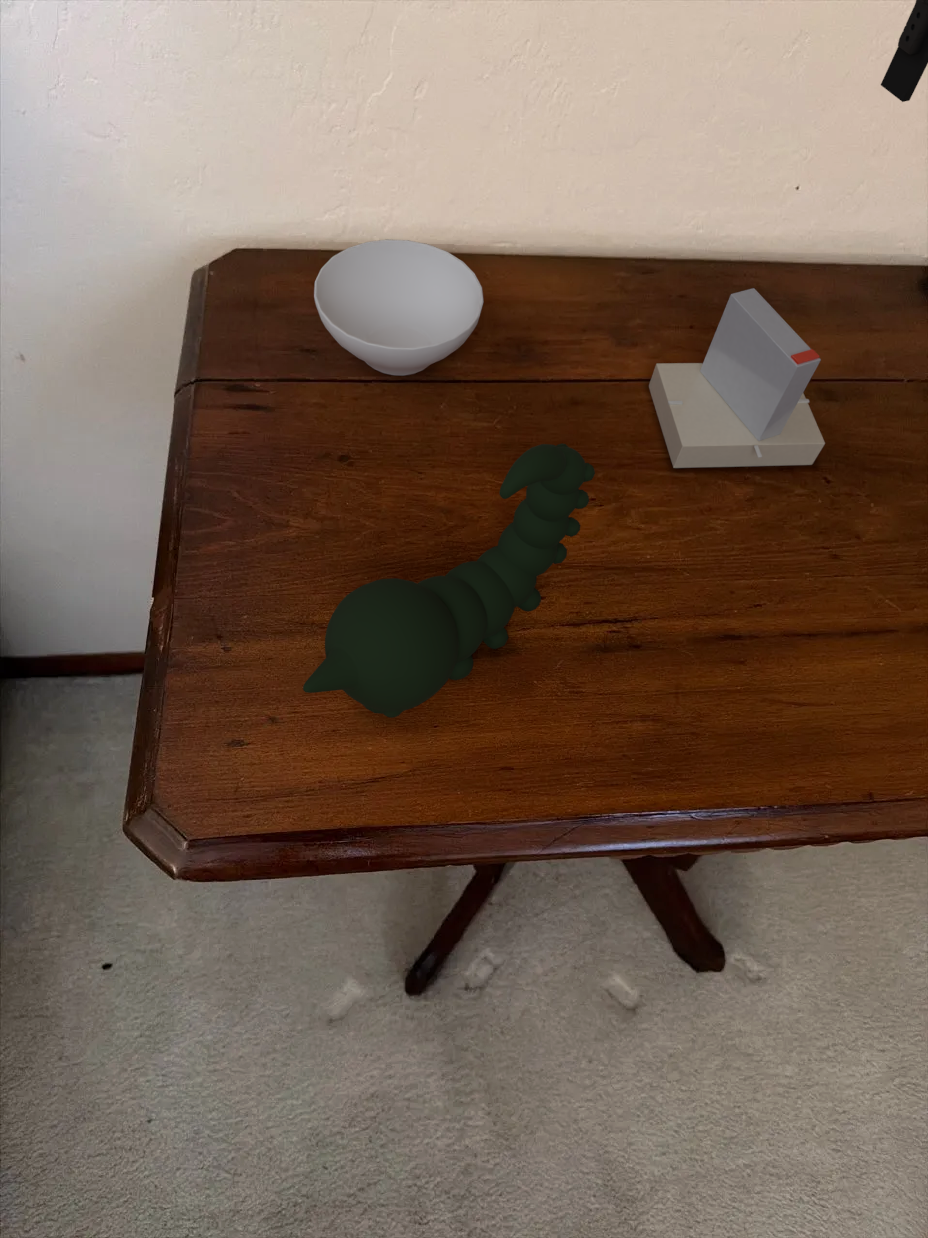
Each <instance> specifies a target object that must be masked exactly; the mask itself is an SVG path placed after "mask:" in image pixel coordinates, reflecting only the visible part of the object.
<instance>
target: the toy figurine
mask: <svg viewBox="0 0 928 1238" xmlns="http://www.w3.org/2000/svg"><path fill="white" fill-rule="evenodd" d="M595 474H596V470H595V468H594V466H593V465H592V464H591V463H589V462H586V461H585V459H584V457H583V456H582V455H581V453H580V452H578V451H577V450H576V449H575V448H572V447H569V445H567V444H566V443H563V442H562V443H558V444H557V445H555V444H553V443H552V444H551V443H550V444H549V443H541V444H538V445H535V446H532V447H530V448H529V449H527V450H526V451H524V452H523V453H522V454H521V455H520V456H519V457H518V458H517V459H516V460H515V461H514V462H513V464H512V465H511V466H510V468H509V470H508V471H507V473H506V476H505V477H504V479H503V481H502V483H501V485H500V488H499V491H498V493H499V496H500V498H501V499H503V500H506V499H509V498H511V497H512V496H513V495H516V493H517V492H519V491H521V490H522V489H524V488H526V490H525V498H524V499H523V500H521V501H520V503H519V504H518V505H517V507H516V508H515V510H514V515H513V519H512V522H511V523H509V524H508V525H507V526H506V527H505V528H504V530H502V532H501V534H500V536H499V538H498V542H497V545H495V546H493V547H490V548H489V549H487V550H485V551H484V552H483V553H481V555H480V556H479V557H478V558H477V560H469V561H466V562H462V563H459V564H458V565H457V566H455V567H453V568H451V569H449V571H448V572H447V573H446V574H445V575H434V576H431V577H428V578H425V579H422V580H420V581H419V582H415V581H412V580H408V579H404V578H403V579H402V578H395V577H394V578H393V577H391V578H381V579H376V580H373V581H370V582H368V583H365V584H363V585H360V586H359V587H357V588H355V589H354V590H352V591H350V592H349V593H347V594H346V595H345V597H344V598H342V600H341V601H339V603H338V604H337V606H336V608H335V610H334V611H333V612H332V614H331V616H330V618H329V621H328V624H327V627H326V631H325V636H324V652H325V658H324V660H323V661H322V662H321V663H320V664H319V665H318V666H317V667H316V669H315V670H314V671H313V672H312V673H311V674H310V676H309V677H308V678H307V679H306V681H305V682H304V684H303V686H302V690H303V692H304V693H307V694H316V693H325V692H333V691H343V693H345V694H346V695H347V696H348V697H349V698H351V699H353V700H354V701H355V702H358V703H359V704H361V705H362V706H363V707H364V708H365V709H366V710H368V711H370V712H372V713H373V714H379V715H380V714H382V715H383V716H385V717H386V718H391V719H392V718H397V717H399V716H400V715H401V714H402V713H403V712H405V711H408V710H412V709H414V708H416V707H418V706H419V705H421V704H423V703H425V702H426V701H428V700H429V699H430V698H432V697H434V696H435V695H436V694H437V693H438V692H439V691H440V690H441V689H442V688H443V687H444V686H445V684H446V683H447V682H448V680H453V681H459V680H463V679H465V678H466V677H468V676H469V675H470V674H471V672H472V670H473V668H474V658H473V654H474V653H476V651H477V650H478V649H479V647H480V645H481V644H482V643H484V644H485V645H486V646H487V647H488V648H490V649H493V650H497V649H500V648H502V647H504V646H505V645H506V644H507V642H508V640H509V635H508V630H507V629H506V628H505V627H506V626H507V625H508V624H509V623H510V622H509V621H510V620H511V618H512V616H513V614H514V612H515V608H518V609H520V610H522V611H523V612H532V611H533V612H534V610H536V609H537V608H538V607H539V606H540V604H541V603H542V602H541V601H542V595H541V592H540V591H539V590H538V589H537V588H536V585H537V579H538V576H541V575H543V574H545V573H546V571H548V570H549V569H550V567H551V566H552V565H553V564H554V565H557V564H562V563H563V562H564V560H566V558H567V556H568V548H567V547H566V546H565V545H564V544H563V543H561V541H562V540H563V539H564V538H565V537H566V536H567V537H569V538H572V537H575V536H577V535H578V534H579V532H580V531H581V524H580V522H579V521H578V520H577V519H576V518H574V517H573V516H570V515H571V514H572V513H573V512H574V510H576V509H577V510H582V509H584V508H586V507H587V506H588V504H589V502H590V496H589V494H588V492H587V491H585V490H584V489H580V488H581V486H582V485H583V484H584V483H586V482H589V481H592V480H593V479H594V477H595V476H596V475H595Z"/></svg>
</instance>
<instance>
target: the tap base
mask: <svg viewBox="0 0 928 1238" xmlns="http://www.w3.org/2000/svg"><path fill="white" fill-rule="evenodd" d="M702 364H703V362H677V363H675V362H674V363H673V362H671V363H670V362H668V363H666V362H665V363H664V362H662V363H659V362H658V363H656V364H655V365H654V369H653V372H652V375H651V377H650V381H649V384H648V389H649V392H650V395H651V399H652V402H653V406H654V409H655V411H656V416H657V419H658V421H659V425H660V428H661V432H662V436H663V439H664V443H665V445H666V448H667V451H668V455H669V458H670V462H671V464H672V468H673V469H691V468H692V469H693V468H735V467H736V468H737V467H739V468H740V467H774V466H775V467H780V466H783V467H784V466H812V465H813V464H814V463H815V461H816V460H817V458H818V456H819V454H820V453H821V451H822V450H823V448H824V447H825V444H826V442H825V440H824V437H823V435H822V432H821V431H820V428H819V426H818V424H817V421H816V419H815V416H814V413H813V412H812V409H811V407H810V405H809V403H810V398H806V396H805V394H804V393H805V392H803V394H802V395H801V397H800V399H799V401H798V403H797V405H796V406H795V408H794V410H793V412H792V414H791V416H790V417H789V419H788V421H787V423H786V425H785V426H784V428H783V430H782V432H781V434H779V435H776V436H773V437H770V438H767V439H764V440H761V441H758V440H757V439H756V438H755V437H754V435H753V434H752V433H751V432H750V431H749V429H748V428H747V427H746V426H745V425H744V423H743V422H742V421H741V420H740V419H739V417H738V416H737V415H736V414H735V413H734V411H733V410H732V409H731V408H730V407H729V405H728V404H727V403H726V402H725V401H724V399H723V398H722V397H721V396H720V395H719V393H718V392H717V391H716V390H715V389H714V387H713V386H712V385H711V384H710V383H709V381H708V380H707V379H706V378H705V377H704V375H703V374H702V373H701V372H700V369H701V367H702Z"/></svg>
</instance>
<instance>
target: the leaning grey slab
mask: <svg viewBox="0 0 928 1238" xmlns="http://www.w3.org/2000/svg"><path fill="white" fill-rule="evenodd" d="M821 361H822V359H821V358H820V355H819V354H818V353H817V352H816V351H815V349H813V348H811V347H810V346H809V345H808V344H807V343H806V341H804V339H802V337H800V335H798V333H797V332H796V331H795V330H794V329H793V328H792V327H791V326H790V325H789V324H788V323H787V322H786V321H785V319H783V317H782V316H781V315H780V314H779V313H778V312H777V311H776V310H775V308H773V306H771V305H770V303H769V302H768V301H767V300H766V299H765V298H764V297H763V296H762V295H761V294H760V293H759V292H758V290H757V289H755V288H754V287H752V288H748V289H745V290H741V291H738V292H737V291H736V292H733V293H731V294H730V295H729V298H728V300H727V302H726V305H725V308H724V310H723V312H722V315H721V318H720V320H719V322H718V325H717V328H716V330H715V332H714V334H713V337H712V340H711V342H710V344H709V347H708V350H707V352H706V355H705V357H704V360H703V362H702V363H703V364H702V367H701V369H700V372H701V373H702V374H703V375H704V377H705V378H706V379H707V380H708V381H709V383H710V384H711V385H712V386H713V387H714V389H715V390H716V391H717V392H718V393H719V395H720V396H721V397H722V398H723V399H724V401H725V402H726V403H727V404H728V405H729V407H730V408H731V409H732V410H733V411H734V413H735V414H736V415H737V416H738V417H739V419H740V420H741V421H742V422H743V423H744V425H745V426H746V427H747V428H748V429H749V431H750V432H751V433H752V434H753V435H754V437H755V438H756V439H757V440H758V441H761V440H764V439H767V438H770V437H773V436H776V435H779V434H781V432H782V430H783V428H784V426H785V425H786V423H787V421H788V419H789V417H790V416H791V414H792V412H793V410H794V408H795V406H796V405H797V403H798V401H799V399H800V397H801V395H802V394H803V393H805V390H806V388H807V386H808V384H809V382H810V381H811V380H812V378H813V376H814V374H815V371H816V370H817V368H818V367H819V364H820V363H821Z"/></svg>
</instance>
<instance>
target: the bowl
mask: <svg viewBox="0 0 928 1238" xmlns="http://www.w3.org/2000/svg"><path fill="white" fill-rule="evenodd" d="M313 298H314V303H315V304H314V305H315V307H316V309H317V312H318V315H319V318H320V321H321V322H322V324H323V326H324V328H325V329H326V330H327V332H328V333H329V334H330V335H331V337H333V339H334V340H335V341H336V342H337V344H339V346H341V347H342V348H343V349H344V350H346V351H348V352H349V353H350V354H352V355H353V356H354V357H356V358H358V359H359V360H361V361H363V362H364V363H365V364H366V365H367V366H369V367H371V368H372V369H373V370H374V371H375V370H376V371H377V372H380V373H381V374H385V375H390V376H410V375H415V374H416V373H417V374H418V373H419V372H422V371H424V370H425V369H426V368H429V366H430V365H433V364H434V363H437V362H440V361H442V360H444V359H446V358H447V357H448V356H450V355H451V354H452V353H454V352H455V351H457V350H459V348H460V347H461V346H462V345H464V344H465V342H466V341H467V340H468V339H469V337H470V336H471V335H472V333H473V332H474V330H475V329H476V327H477V325H478V323H479V319H480V316H481V313H482V309H483V306H484V292H483V286H482V285H481V282H480V281H479V278H478V277H477V275H476V273H475V272H474V271H473V270H472V268H470V267H469V266H468V265H467V264H466V263H465V262H464V261H463V260H461V259H459V258H458V257H456V256H455V255H453V254H452V253H450V252H448V250H446V249H445V250H444V249H442V248H440V247H437V246H434V245H432V244H429V243H424V242H419V241H415V240H410V239H392V238H391V239H388V238H387V239H386V238H385V239H380V240H371V241H365V242H362V243H358V244H356V245H353V246H349V247H347V248H345V249H343V250H342V251H340V252H338V253H336V254H335V255H333V256H332V257H330V258H329V260H328V261H327V262H326V263H325V264H324V265H323V266H322V267H321V268H320V270H319V271H318V274H317V276H316V279H315V281H314V288H313Z"/></svg>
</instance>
